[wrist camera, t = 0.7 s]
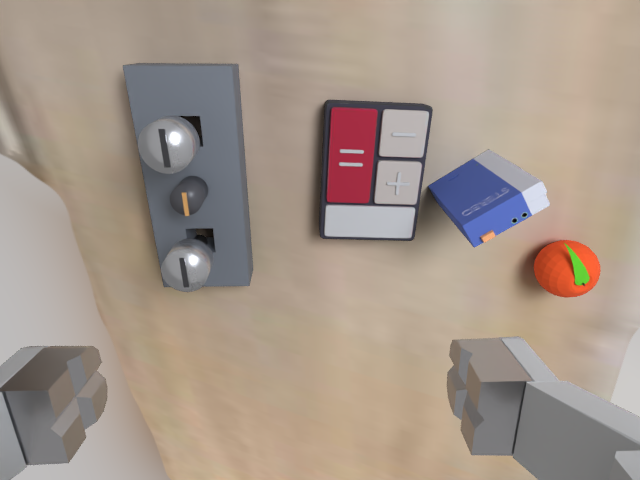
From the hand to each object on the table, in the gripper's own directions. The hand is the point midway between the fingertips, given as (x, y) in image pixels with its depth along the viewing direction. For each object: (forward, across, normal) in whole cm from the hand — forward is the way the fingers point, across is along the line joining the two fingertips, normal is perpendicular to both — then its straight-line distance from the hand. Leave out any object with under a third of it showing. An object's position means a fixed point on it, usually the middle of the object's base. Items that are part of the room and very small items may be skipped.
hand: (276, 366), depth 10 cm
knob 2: (+35, +12, +9) cm, 38 cm away
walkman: (+40, -18, +3) cm, 44 cm away
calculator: (+40, -7, +2) cm, 40 cm away
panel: (+39, +12, +3) cm, 41 cm away
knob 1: (+34, +12, -3) cm, 36 cm away
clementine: (+41, -30, +14) cm, 53 cm away
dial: (+35, +12, +3) cm, 37 cm away
